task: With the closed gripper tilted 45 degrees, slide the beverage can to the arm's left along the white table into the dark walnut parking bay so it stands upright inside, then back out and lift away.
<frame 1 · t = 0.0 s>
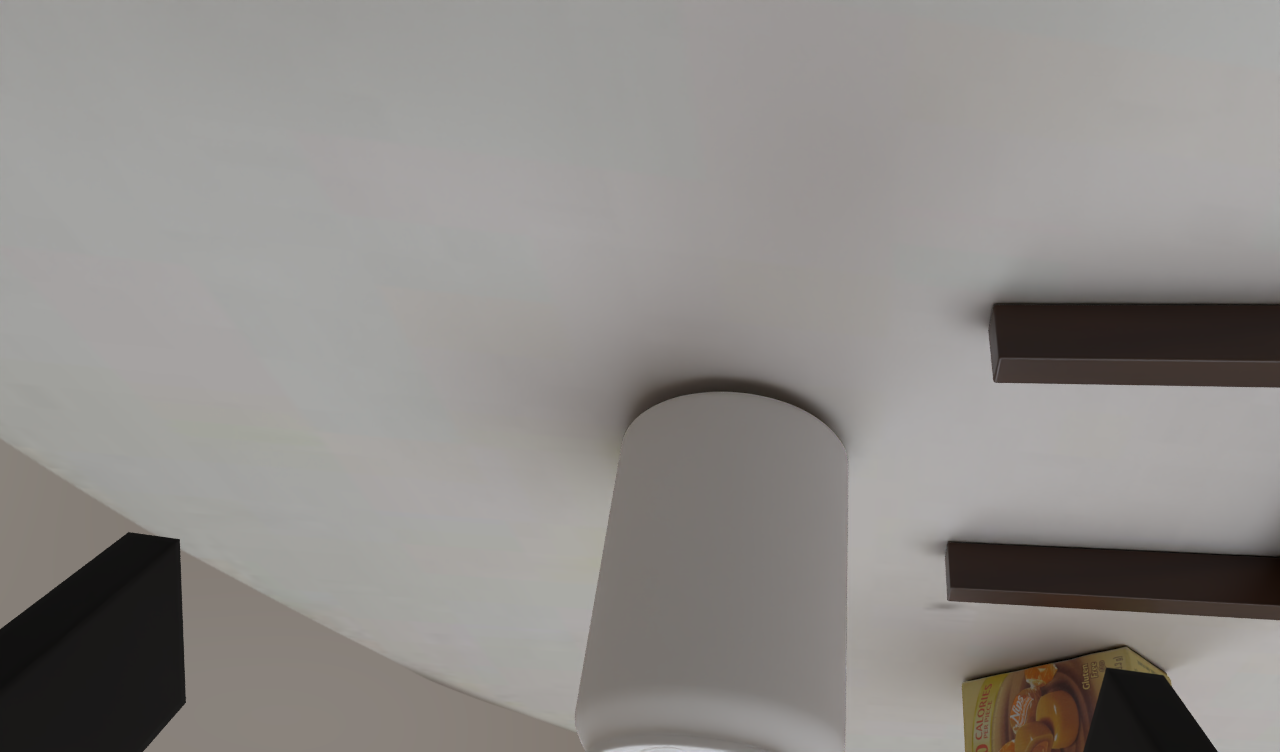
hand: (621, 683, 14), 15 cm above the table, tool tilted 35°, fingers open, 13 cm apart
parking bay: (1151, 456, 34), on the table
beverage can: (735, 440, 37), on the table
candy box: (1059, 671, 49), on the table
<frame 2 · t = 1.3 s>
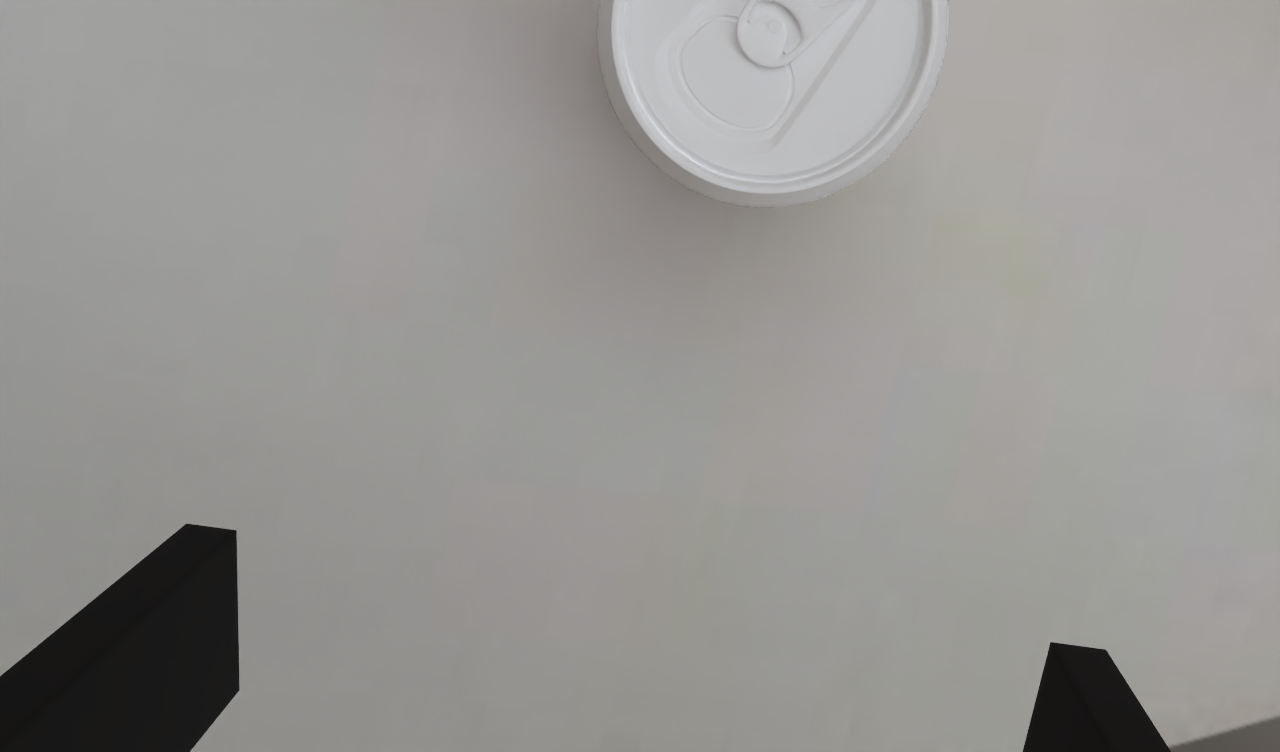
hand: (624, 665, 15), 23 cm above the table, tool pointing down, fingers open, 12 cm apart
beverage can: (757, 43, 34), on the table
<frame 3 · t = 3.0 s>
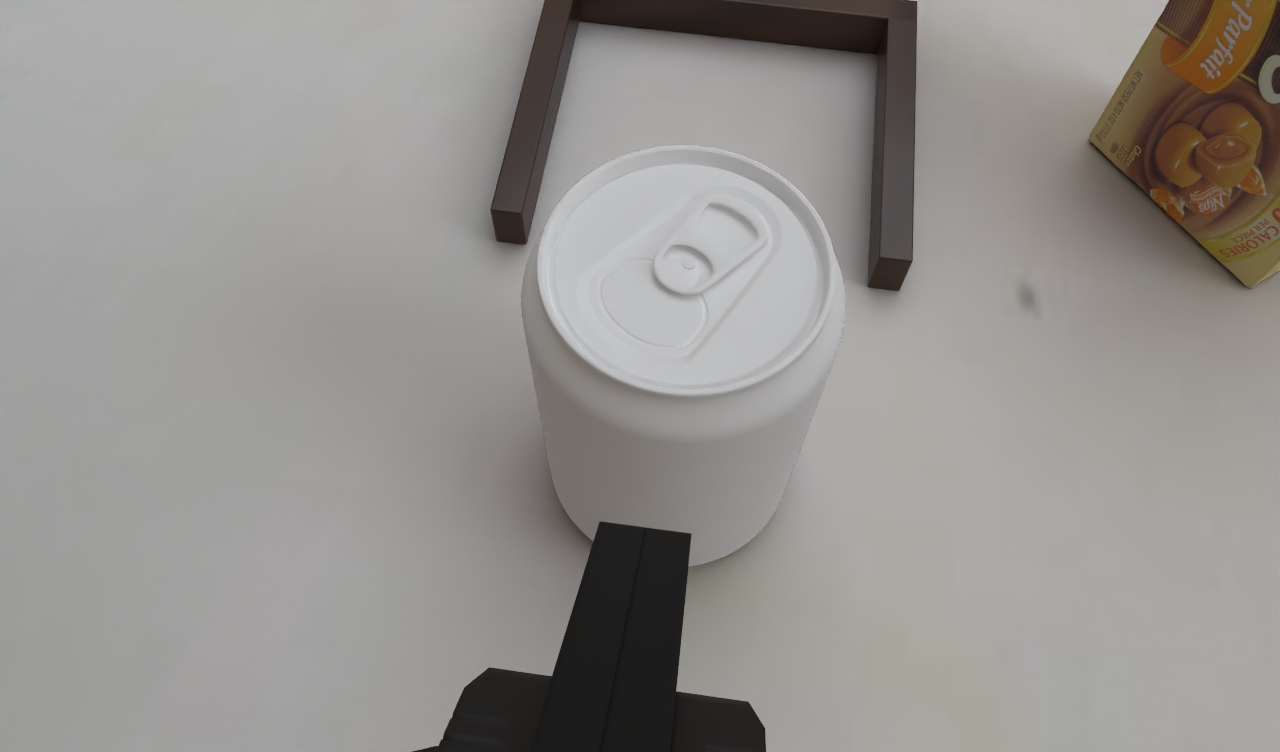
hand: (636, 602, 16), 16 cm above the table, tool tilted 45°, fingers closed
parking bay: (712, 144, 41), on the table
beverage can: (668, 461, 35), on the table
candy box: (1192, 196, 40), on the table
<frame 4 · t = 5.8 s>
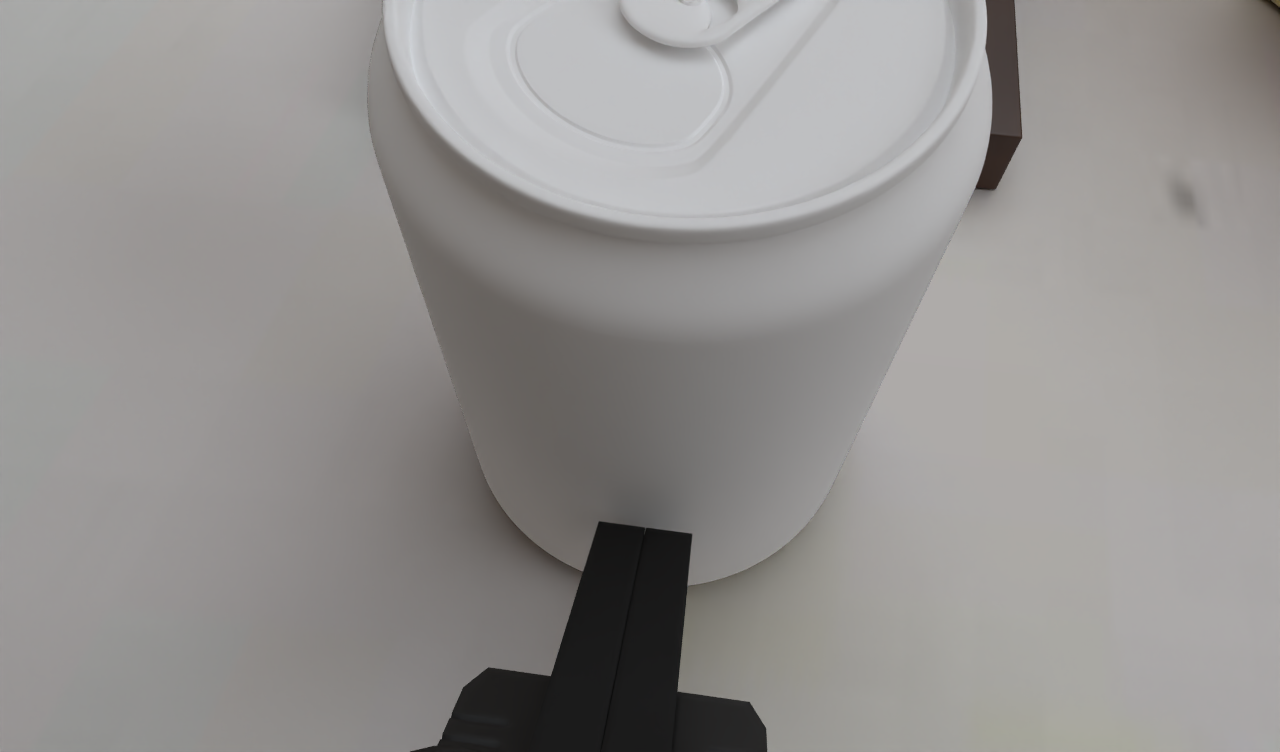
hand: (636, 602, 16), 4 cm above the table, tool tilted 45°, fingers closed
beverage can: (658, 422, 23), on the table, touching gripper
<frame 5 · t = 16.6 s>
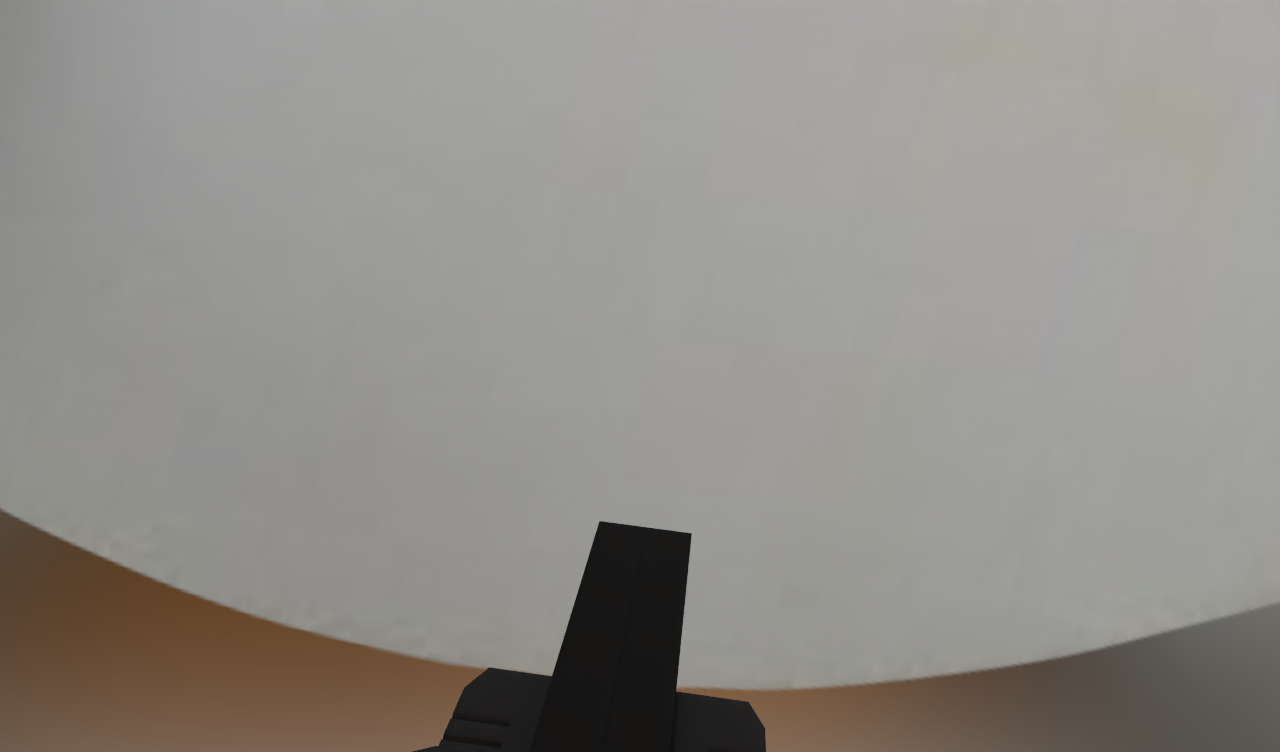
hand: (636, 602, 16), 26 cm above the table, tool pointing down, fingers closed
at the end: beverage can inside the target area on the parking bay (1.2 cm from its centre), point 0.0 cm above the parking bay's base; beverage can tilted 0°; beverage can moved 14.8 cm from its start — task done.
